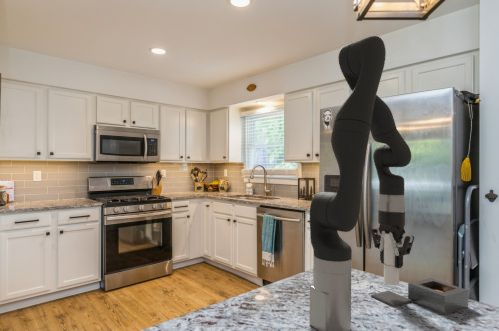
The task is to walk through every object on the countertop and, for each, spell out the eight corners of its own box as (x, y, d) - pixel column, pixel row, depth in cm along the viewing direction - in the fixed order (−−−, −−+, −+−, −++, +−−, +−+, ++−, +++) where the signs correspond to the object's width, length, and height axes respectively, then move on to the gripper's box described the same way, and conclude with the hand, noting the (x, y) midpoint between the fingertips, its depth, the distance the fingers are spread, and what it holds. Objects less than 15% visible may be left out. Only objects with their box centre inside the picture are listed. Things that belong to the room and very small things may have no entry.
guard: (444, 314, 84) (444, 296, 85) (408, 299, 94) (408, 283, 94) (467, 307, 89) (467, 290, 90) (430, 293, 99) (430, 278, 99)
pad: (393, 306, 89) (393, 304, 89) (371, 296, 96) (371, 294, 96) (411, 301, 93) (411, 299, 93) (388, 292, 100) (388, 290, 100)
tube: (401, 285, 92) (401, 235, 92) (385, 284, 93) (385, 234, 93) (397, 280, 96) (397, 232, 97) (382, 279, 97) (382, 231, 97)
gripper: (364, 207, 100) (364, 260, 99) (404, 212, 87) (404, 274, 87) (380, 206, 103) (380, 258, 103) (421, 211, 90) (421, 270, 90)
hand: (391, 265), depth 95 cm, fingers closed on tube, 4 cm apart
